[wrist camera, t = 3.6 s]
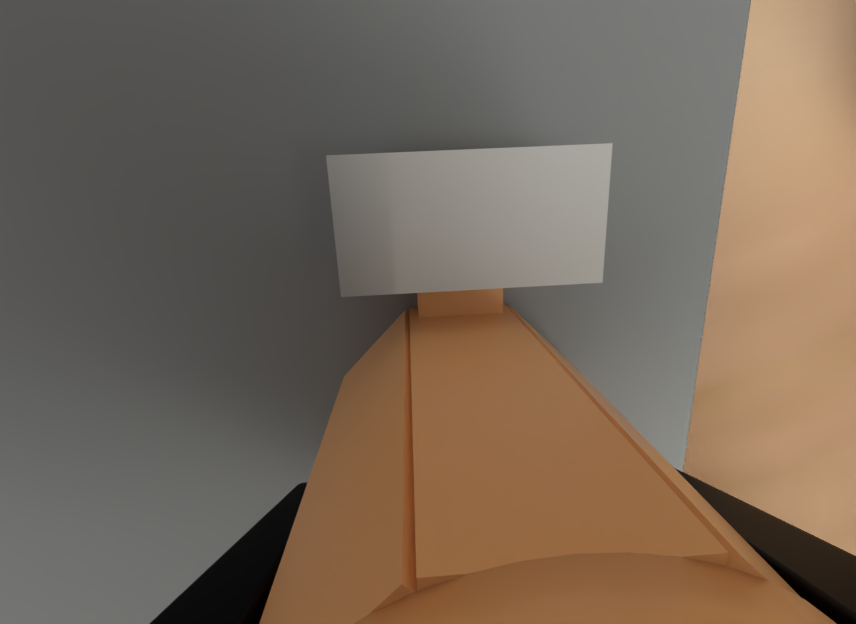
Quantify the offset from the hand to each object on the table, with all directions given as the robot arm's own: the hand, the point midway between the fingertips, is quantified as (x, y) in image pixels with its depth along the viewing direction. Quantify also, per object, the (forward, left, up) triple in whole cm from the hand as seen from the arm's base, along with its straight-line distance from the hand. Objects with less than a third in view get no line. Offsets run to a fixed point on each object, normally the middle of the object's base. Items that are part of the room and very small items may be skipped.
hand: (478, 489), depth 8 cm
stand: (0, +4, -4) cm, 6 cm away
